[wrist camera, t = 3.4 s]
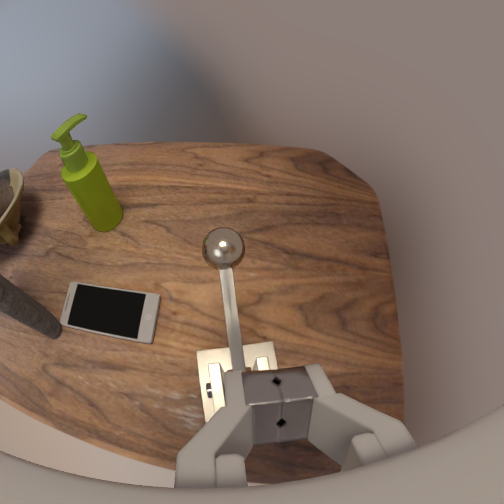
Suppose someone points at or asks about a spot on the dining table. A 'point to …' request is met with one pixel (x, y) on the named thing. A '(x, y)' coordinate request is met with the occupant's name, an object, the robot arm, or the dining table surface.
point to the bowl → (10, 205)
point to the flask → (27, 310)
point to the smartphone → (111, 312)
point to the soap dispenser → (87, 179)
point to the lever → (227, 284)
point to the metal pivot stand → (218, 363)
